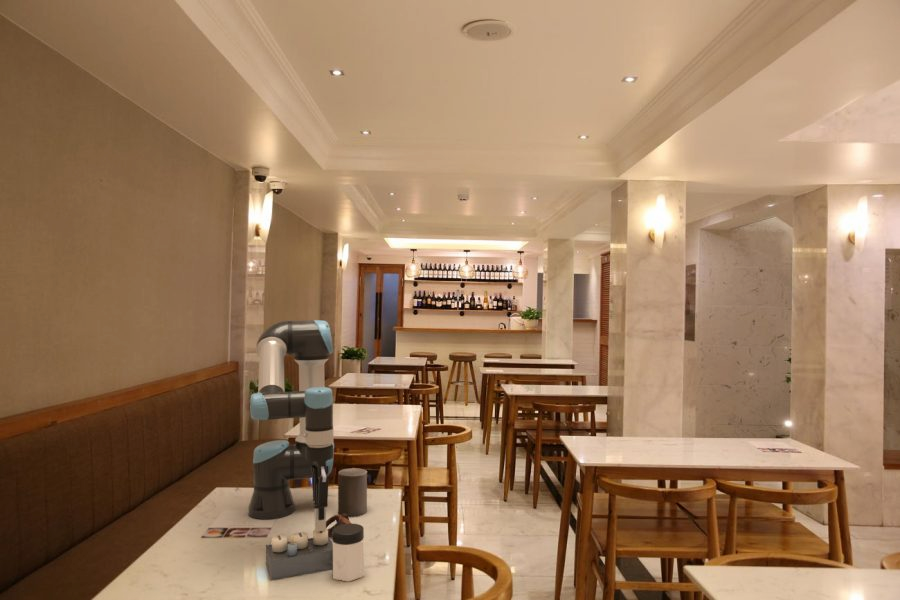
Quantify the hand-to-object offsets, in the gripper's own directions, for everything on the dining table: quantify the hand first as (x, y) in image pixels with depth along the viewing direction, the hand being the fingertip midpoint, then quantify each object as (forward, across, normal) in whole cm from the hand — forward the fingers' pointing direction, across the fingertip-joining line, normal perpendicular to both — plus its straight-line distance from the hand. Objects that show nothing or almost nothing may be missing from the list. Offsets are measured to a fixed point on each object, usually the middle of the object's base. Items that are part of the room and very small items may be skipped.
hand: (320, 530), depth 172 cm
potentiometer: (+4, +4, -8) cm, 10 cm away
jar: (+9, +11, +5) cm, 15 cm away
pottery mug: (+9, -14, +9) cm, 19 cm away
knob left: (+8, 0, -11) cm, 14 cm away
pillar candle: (+9, -35, +18) cm, 40 cm away
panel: (+9, 0, -6) cm, 10 cm away
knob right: (+8, 0, 0) cm, 8 cm away
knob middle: (+9, 0, -5) cm, 10 cm away
